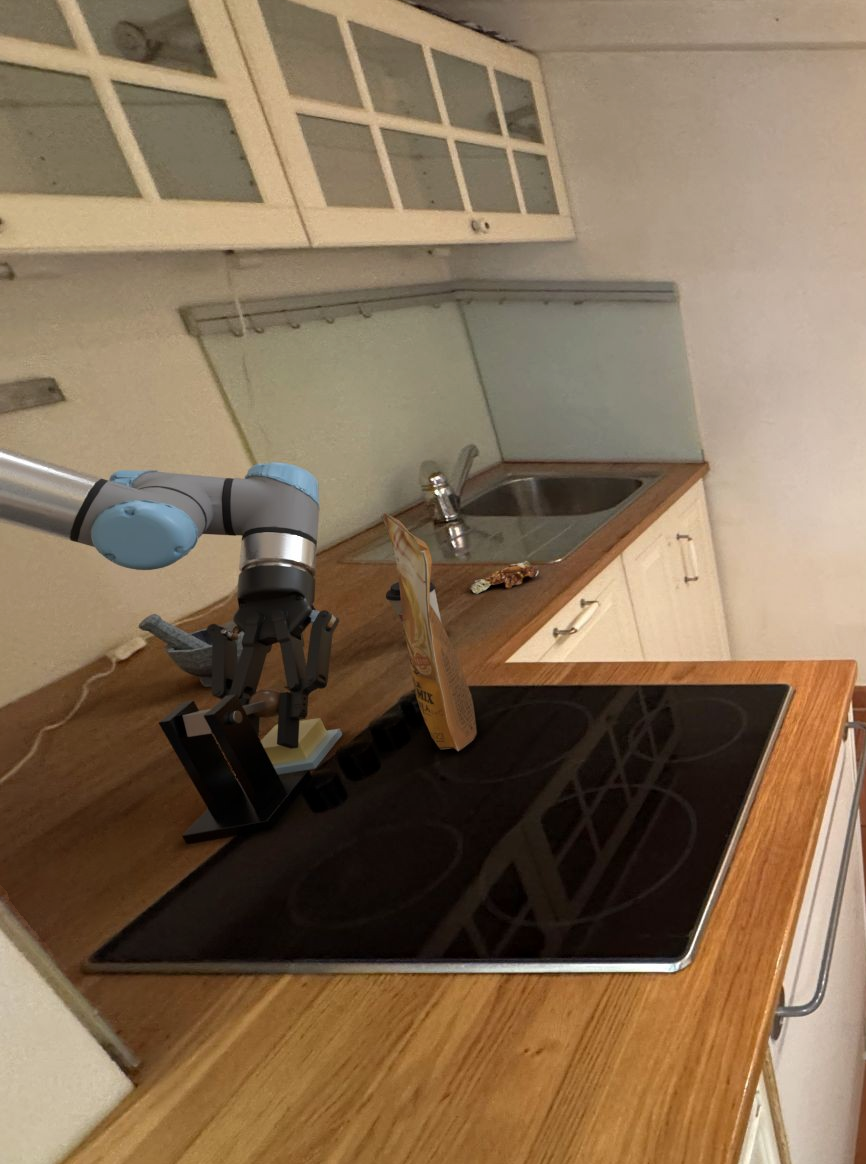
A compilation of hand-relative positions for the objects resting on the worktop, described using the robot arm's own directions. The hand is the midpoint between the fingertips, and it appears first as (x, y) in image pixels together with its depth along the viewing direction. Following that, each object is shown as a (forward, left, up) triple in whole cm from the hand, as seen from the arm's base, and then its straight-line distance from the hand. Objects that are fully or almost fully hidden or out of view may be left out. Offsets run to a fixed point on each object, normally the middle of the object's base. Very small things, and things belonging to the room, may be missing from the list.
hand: (267, 748), depth 93 cm
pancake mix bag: (+18, +7, -4) cm, 20 cm away
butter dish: (0, +5, -4) cm, 6 cm away
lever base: (0, -6, -4) cm, 8 cm away
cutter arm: (0, -2, +4) cm, 5 cm away
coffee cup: (+5, +39, -4) cm, 39 cm away
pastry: (+12, +62, -4) cm, 63 cm away
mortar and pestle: (-22, +34, -4) cm, 40 cm away
